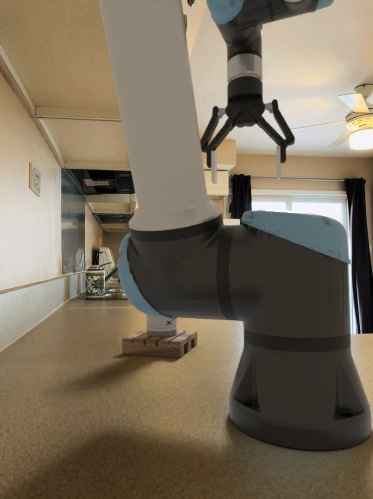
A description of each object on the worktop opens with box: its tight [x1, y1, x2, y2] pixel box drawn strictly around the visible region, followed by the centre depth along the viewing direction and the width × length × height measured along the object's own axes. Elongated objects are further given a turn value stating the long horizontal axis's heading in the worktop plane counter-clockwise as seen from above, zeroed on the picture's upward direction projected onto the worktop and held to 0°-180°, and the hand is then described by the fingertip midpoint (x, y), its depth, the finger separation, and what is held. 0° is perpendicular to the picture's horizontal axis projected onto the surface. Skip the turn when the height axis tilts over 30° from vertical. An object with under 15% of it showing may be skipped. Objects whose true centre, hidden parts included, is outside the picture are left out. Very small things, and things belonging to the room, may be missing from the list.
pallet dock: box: [121, 327, 198, 359], centre depth 76 cm, size 12×12×3 cm
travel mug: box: [146, 314, 178, 337], centre depth 76 cm, size 6×7×20 cm
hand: (245, 180), depth 78 cm, fingers open, 13 cm apart
